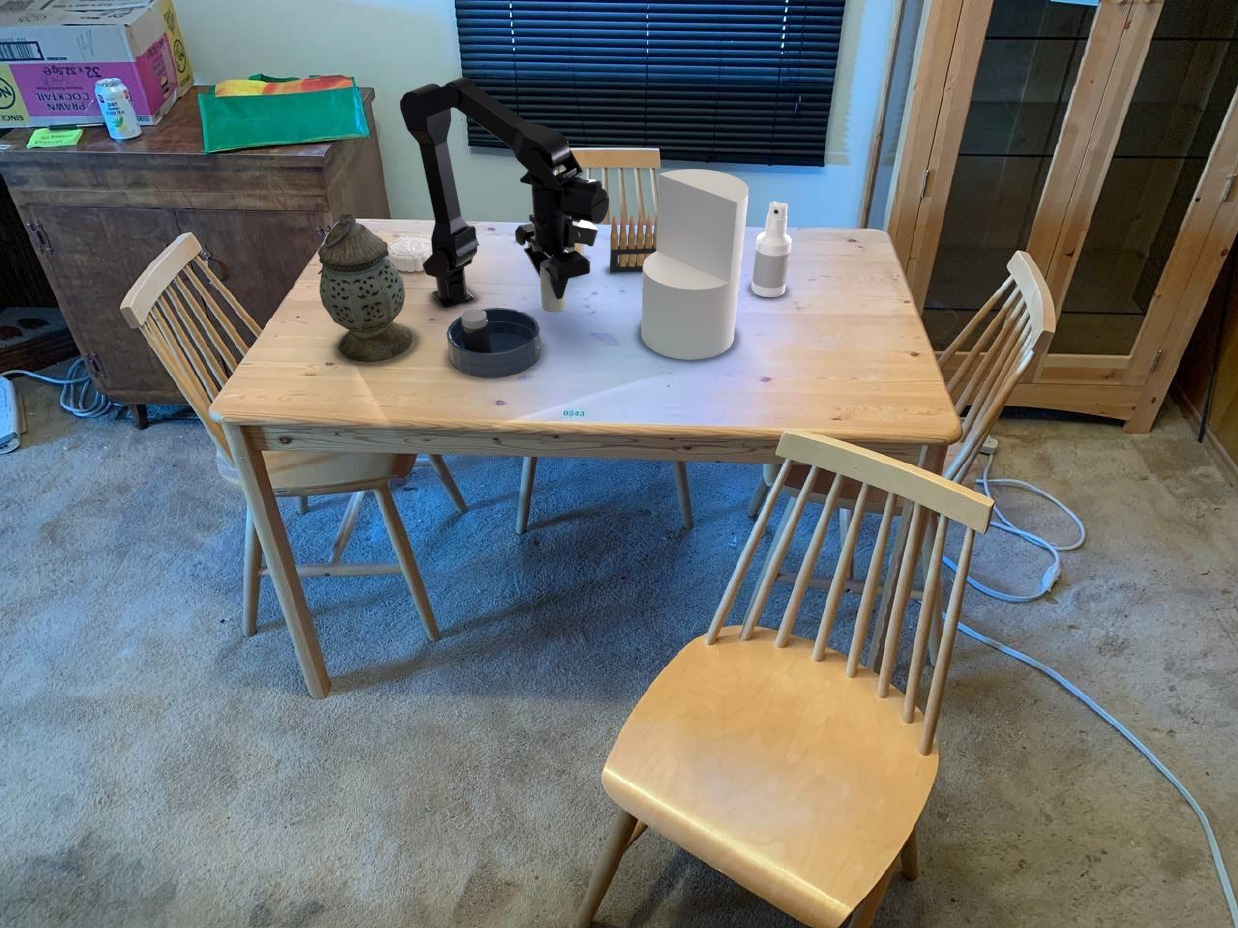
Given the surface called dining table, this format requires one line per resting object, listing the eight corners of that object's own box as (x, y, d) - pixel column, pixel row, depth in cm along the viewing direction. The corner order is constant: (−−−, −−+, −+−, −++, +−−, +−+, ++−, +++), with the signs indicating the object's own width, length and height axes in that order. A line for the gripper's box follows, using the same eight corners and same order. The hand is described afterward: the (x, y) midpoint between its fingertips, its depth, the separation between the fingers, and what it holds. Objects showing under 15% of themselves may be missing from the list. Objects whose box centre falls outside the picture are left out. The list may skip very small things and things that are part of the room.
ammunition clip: (659, 267, 180) (661, 212, 173) (660, 271, 179) (662, 216, 171) (609, 268, 179) (609, 214, 172) (610, 272, 178) (610, 217, 170)
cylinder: (684, 303, 168) (692, 161, 150) (753, 335, 158) (770, 188, 141) (622, 334, 158) (623, 187, 141) (691, 370, 149) (701, 217, 131)
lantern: (390, 370, 148) (363, 235, 133) (319, 358, 152) (284, 224, 136) (427, 331, 159) (406, 202, 143) (360, 320, 162) (332, 192, 146)
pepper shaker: (462, 354, 152) (456, 312, 147) (485, 348, 154) (481, 306, 148) (471, 366, 149) (466, 324, 143) (495, 360, 151) (491, 317, 145)
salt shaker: (537, 304, 158) (534, 262, 152) (559, 298, 159) (558, 256, 154) (548, 315, 155) (546, 272, 149) (570, 309, 156) (569, 266, 151)
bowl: (437, 345, 155) (433, 321, 152) (518, 324, 161) (516, 300, 158) (470, 389, 144) (467, 364, 141) (555, 364, 150) (554, 339, 147)
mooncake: (376, 268, 179) (373, 252, 177) (403, 245, 188) (401, 229, 186) (427, 275, 177) (425, 260, 174) (453, 252, 186) (451, 236, 183)
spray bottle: (747, 294, 171) (756, 208, 159) (755, 280, 176) (765, 195, 164) (780, 300, 169) (792, 213, 157) (788, 285, 174) (800, 200, 162)
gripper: (617, 221, 142) (616, 304, 152) (567, 184, 155) (569, 263, 165) (557, 234, 138) (561, 319, 148) (511, 195, 150) (517, 276, 160)
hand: (553, 293), depth 155 cm, fingers closed on salt shaker, 4 cm apart
